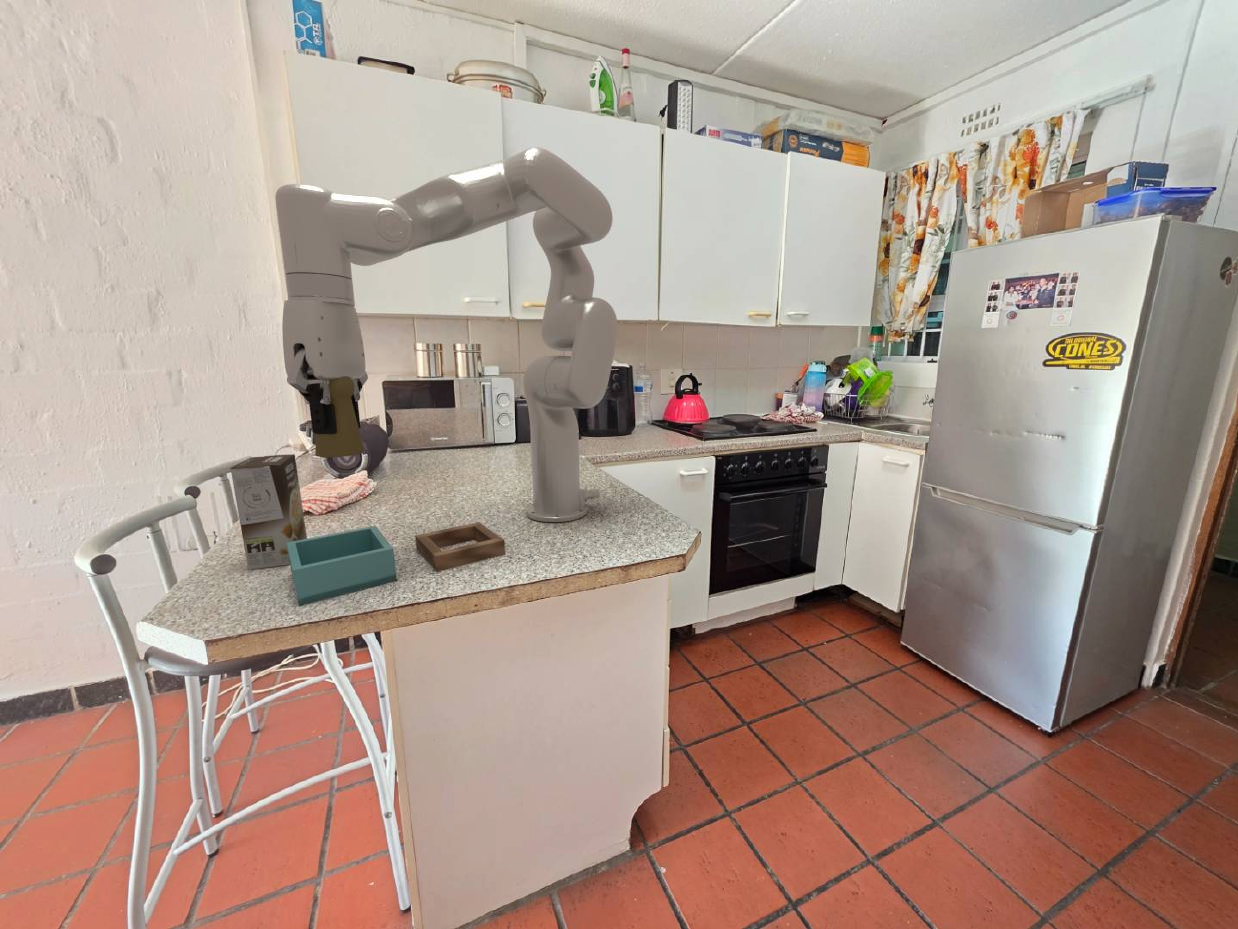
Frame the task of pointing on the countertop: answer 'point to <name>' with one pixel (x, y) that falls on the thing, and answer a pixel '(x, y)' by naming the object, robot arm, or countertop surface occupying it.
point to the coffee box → (268, 508)
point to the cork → (341, 423)
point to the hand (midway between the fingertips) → (337, 429)
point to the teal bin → (340, 564)
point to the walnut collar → (459, 556)
